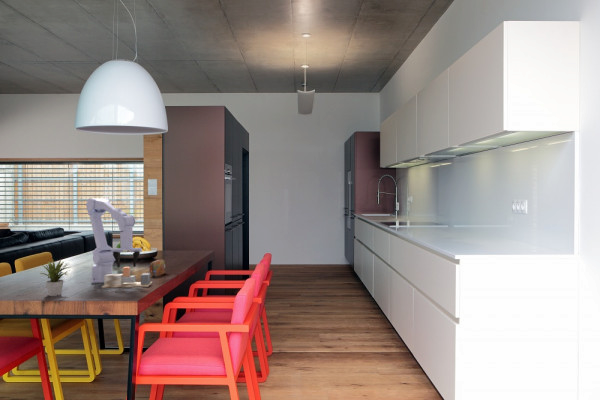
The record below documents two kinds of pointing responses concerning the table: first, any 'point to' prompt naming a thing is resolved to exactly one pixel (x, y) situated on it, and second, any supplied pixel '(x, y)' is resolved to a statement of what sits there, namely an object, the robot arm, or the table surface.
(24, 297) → the table surface
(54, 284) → the house plant
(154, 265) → the tin
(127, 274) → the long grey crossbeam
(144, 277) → the socket
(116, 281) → the tube stand
